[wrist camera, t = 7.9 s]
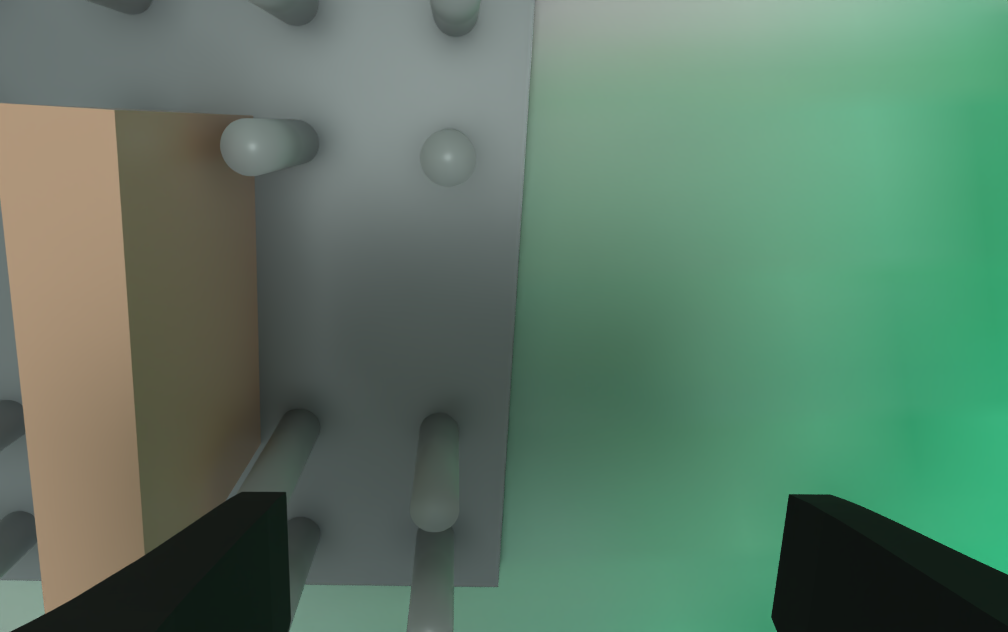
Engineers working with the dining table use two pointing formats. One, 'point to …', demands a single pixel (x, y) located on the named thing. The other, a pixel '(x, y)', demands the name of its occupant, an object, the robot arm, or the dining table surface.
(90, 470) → the tall tan block
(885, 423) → the dining table surface
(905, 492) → the dining table surface
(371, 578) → the dish rack
